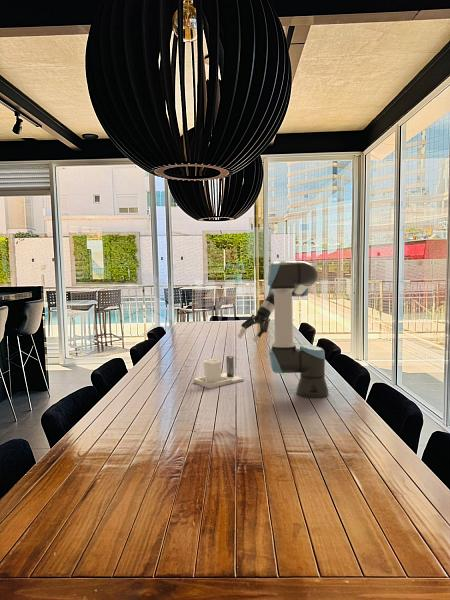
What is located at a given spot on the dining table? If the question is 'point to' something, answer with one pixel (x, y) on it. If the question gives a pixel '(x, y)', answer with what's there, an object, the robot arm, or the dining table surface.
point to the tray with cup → (222, 376)
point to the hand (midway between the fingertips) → (246, 339)
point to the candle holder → (212, 370)
